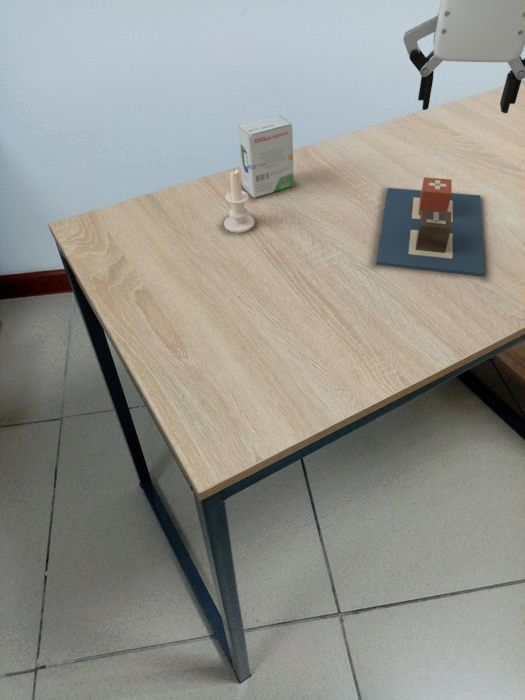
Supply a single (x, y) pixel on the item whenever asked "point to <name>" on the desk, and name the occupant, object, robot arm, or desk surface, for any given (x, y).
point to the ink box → (266, 155)
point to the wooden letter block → (433, 231)
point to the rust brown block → (435, 194)
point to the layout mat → (402, 232)
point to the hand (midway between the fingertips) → (463, 107)
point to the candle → (237, 207)
